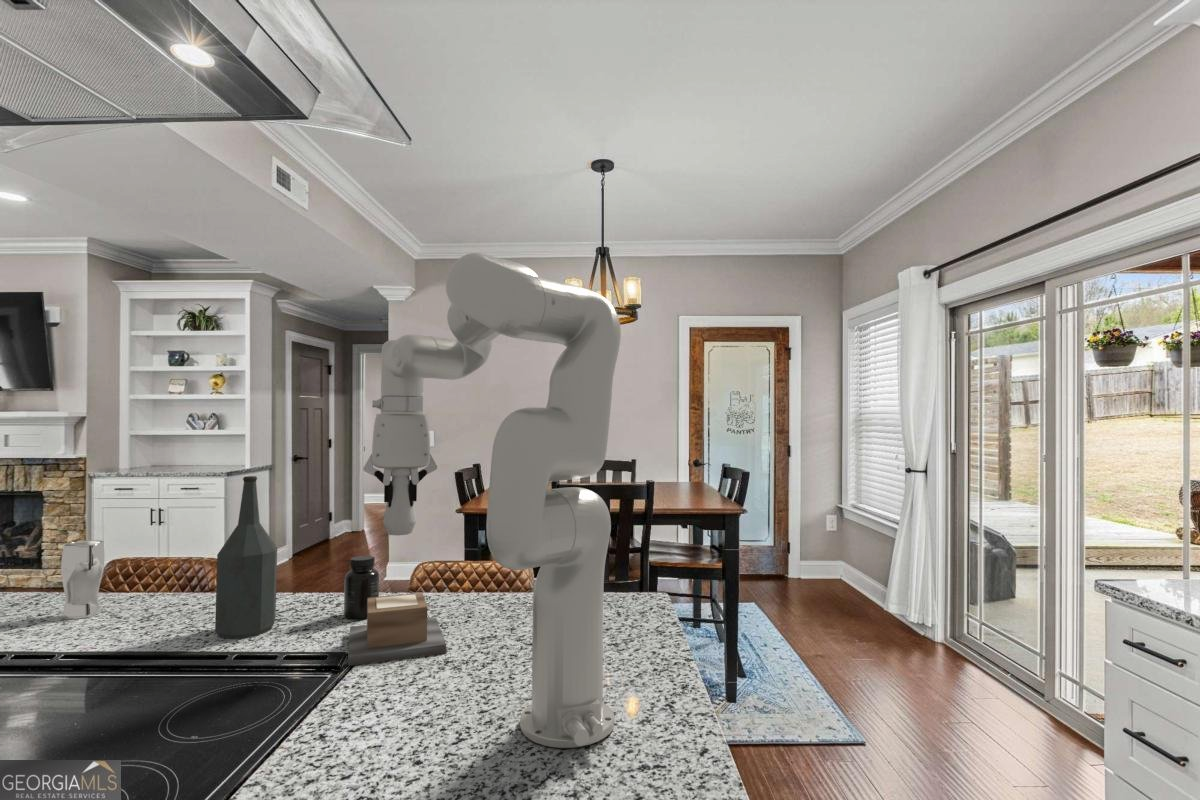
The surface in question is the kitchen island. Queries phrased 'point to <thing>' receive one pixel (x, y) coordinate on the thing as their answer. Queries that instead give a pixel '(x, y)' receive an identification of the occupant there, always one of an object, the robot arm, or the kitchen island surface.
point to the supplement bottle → (360, 587)
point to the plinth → (394, 649)
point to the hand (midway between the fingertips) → (400, 505)
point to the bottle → (246, 574)
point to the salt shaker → (400, 505)
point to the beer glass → (82, 577)
